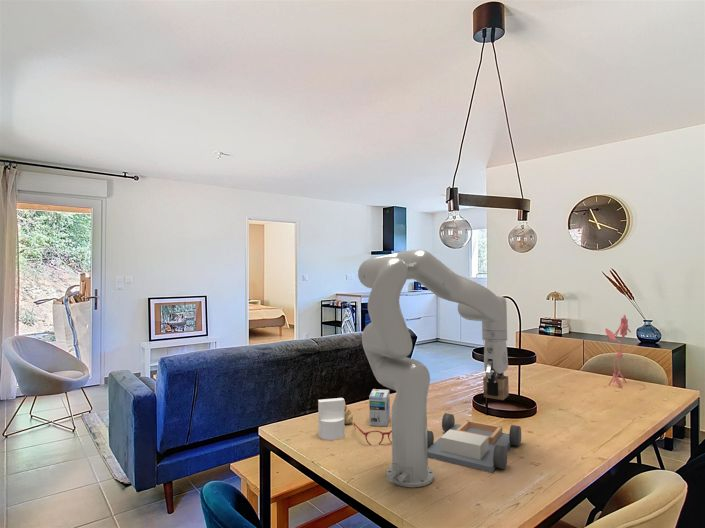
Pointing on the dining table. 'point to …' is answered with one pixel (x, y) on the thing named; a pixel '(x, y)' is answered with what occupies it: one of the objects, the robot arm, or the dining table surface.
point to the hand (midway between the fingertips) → (495, 392)
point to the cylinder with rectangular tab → (331, 418)
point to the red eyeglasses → (374, 431)
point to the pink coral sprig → (623, 332)
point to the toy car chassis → (473, 444)
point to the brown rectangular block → (502, 387)
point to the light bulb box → (379, 407)
